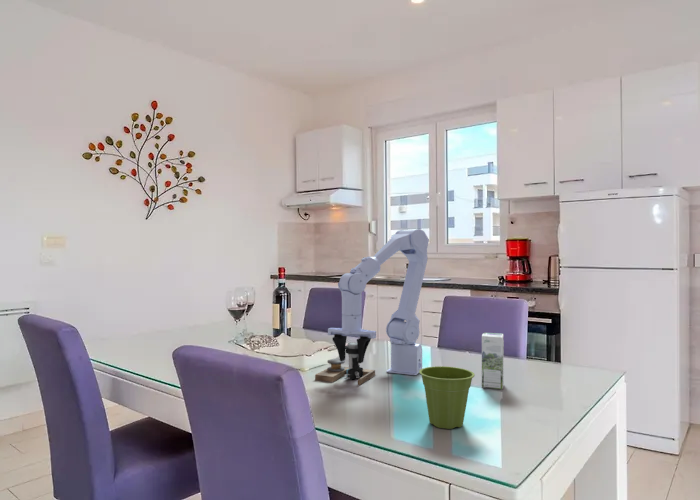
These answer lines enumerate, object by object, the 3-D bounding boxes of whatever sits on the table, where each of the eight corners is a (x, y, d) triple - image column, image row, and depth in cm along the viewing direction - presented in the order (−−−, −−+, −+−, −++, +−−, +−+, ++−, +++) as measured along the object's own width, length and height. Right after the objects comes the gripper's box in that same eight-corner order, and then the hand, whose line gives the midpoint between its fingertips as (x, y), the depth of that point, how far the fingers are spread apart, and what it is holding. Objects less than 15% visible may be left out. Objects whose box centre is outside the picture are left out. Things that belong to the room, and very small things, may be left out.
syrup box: (503, 384, 139) (503, 332, 139) (503, 390, 134) (503, 336, 134) (482, 382, 141) (482, 331, 141) (481, 388, 136) (481, 335, 136)
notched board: (375, 375, 149) (375, 361, 149) (359, 385, 138) (359, 370, 138) (333, 370, 155) (333, 357, 155) (315, 379, 144) (315, 365, 144)
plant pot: (482, 433, 103) (482, 378, 103) (425, 434, 102) (426, 379, 102) (464, 413, 115) (464, 365, 115) (414, 415, 114) (414, 366, 114)
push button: (350, 382, 142) (350, 347, 141) (338, 378, 145) (337, 344, 145) (367, 377, 146) (366, 343, 146) (354, 373, 150) (353, 340, 149)
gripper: (323, 314, 144) (323, 361, 144) (369, 317, 138) (369, 366, 138) (333, 312, 150) (333, 357, 150) (378, 314, 144) (378, 361, 144)
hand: (351, 361), depth 144 cm, fingers closed on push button, 5 cm apart
